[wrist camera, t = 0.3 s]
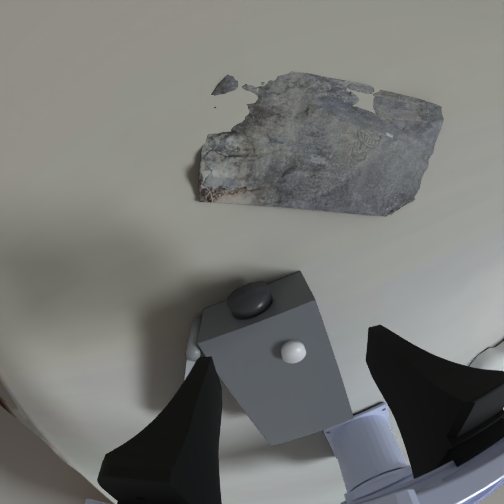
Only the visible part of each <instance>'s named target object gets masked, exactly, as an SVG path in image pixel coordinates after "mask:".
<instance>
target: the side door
mask: <svg viewBox="0 0 504 504" xmlns="http://www.w3.org/2000/svg"><path fill="white" fill-rule="evenodd" d="M201 320H202V318H195V319H193V321H192V325H191V330H190V335H189V339H188V344H187V348H186V353H185V354H186V357H187V363H186V371H185V379H186V377H187V376H188V374H189V372H190V371H191V369H192V367H193V366H194V364H195V362H196V360H197V359H198V358H199V357H200V353H201V348H200V347H199V345H198V344H197V343H198V337H199V331H200V326H201ZM185 379H184V381H185Z"/></svg>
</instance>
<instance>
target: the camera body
mask: <svg viewBox="0 0 504 504" xmlns="http://www.w3.org/2000/svg"><path fill="white" fill-rule="evenodd" d="M197 344H198V345H199V347H200V348H201V350H202V351H203V353H204V354H205V356H206V357H209V356H212V359H213V362H214V365H215V369H216V372H217V374H218V375H219V377H220V378H221V380H222V381H223V382H224V384H225V385H226V387H227V388H228V390H229V391H230V392H231V394H232V395H233V397H234V398H235V399H236V401H237V402H238V403H239V405H240V406H241V408H242V409H243V410H244V412H245V413H246V414H247V416H248V417H249V418H250V420H251V421H252V422H253V423H254V425H255V426H256V427H257V429H258V430H259V431H260V433H261V434H262V435H263V436H264V438H265V439H266V440H267V441H268V443H269V444H270V445H271V446H274V445H278V444H282V443H285V442H288V441H292V440H295V439H298V438H302V437H305V436H308V435H311V434H314V433H317V432H320V431H322V430H325V429H328V428H331V427H333V426H336V425H339V424H341V423H344V422H346V421H349V420H351V419H354V417H353V414H352V411H351V407H350V404H349V401H348V397H347V394H346V391H345V388H344V384H343V381H342V378H341V375H340V372H339V369H338V366H337V363H336V359H335V356H334V353H333V350H332V347H331V344H330V341H329V338H328V335H327V332H326V329H325V326H324V324H323V321H322V318H321V315H320V312H319V309H318V306H317V303H316V300H315V298H314V296H313V294H312V292H311V290H310V289H309V287H308V285H307V283H306V281H305V279H304V277H303V275H302V273H301V271H299V272H297V273H294V274H292V275H289V276H287V277H284V278H282V279H279V280H277V281H274V282H272V283H269V284H266V283H264V282H253V283H249V284H246V285H244V286H242V287H240V288H238V289H237V290H235V291H234V292H233V293H232V294H231V295H230V296H229V297H228V299H227V300H226V301H223V302H221V303H218V304H215V305H213V306H210V307H208V308H205V309H203V314H202V320H201V326H200V331H199V337H198V343H197Z"/></svg>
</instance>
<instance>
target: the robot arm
mask: <svg viewBox="0 0 504 504" xmlns="http://www.w3.org/2000/svg"><path fill="white" fill-rule="evenodd" d="M366 362H367V365H368V368H369V370H370V373H371V375H372V377H373V379H374V381H375V383H376V385H377V386H378V388H379V390H380V392H381V393H382V395H383V397H384V399H385V401H386V402H387V403H381V404H379V405H377V406H375V407H373V408H371V409H368V410H366V411H364V412H361V413H359V414H357V415H354V416H353V417H354V419H351V420H349V421H346V422H344V423H341V424H339V425H336V426H333V427H331V428H328V429H325V430H323V432H324V434H325V436H326V438H327V440H328V442H329V444H330V446H331V448H332V450H333V452H334V454H335V456H336V458H337V459H338V463H339V466H340V469H341V473H342V476H343V480H344V483H345V486H346V490H347V493H346V494H344V496H345V499H346V501H343V502H342V503H341V504H478V503H479V502H481V501H482V500H484V499H485V498H486V497H487V496H489V495H490V494H492V493H493V492H494V491H496V490H497V489H498V488H500V487H501V486H502V485H504V410H503V407H504V371H500V370H486V369H480V368H474V367H469V366H465V365H461V364H457V363H454V362H451V361H448V360H445V359H443V358H440V357H438V356H435V355H433V354H431V353H429V352H427V351H425V350H423V349H421V348H419V347H417V346H415V345H413V344H412V343H410V342H408V341H406V340H405V339H403V338H401V337H400V336H398V335H397V334H395V333H393V332H392V331H390V330H389V329H387V328H385V327H384V326H382V325H377V326H373V327H369V329H368V342H367V353H366ZM387 404H388V405H387ZM388 406H389V408H390V409H391V411H392V413H393V415H394V417H395V420H396V422H397V425H398V427H399V430H400V433H401V436H402V438H403V441H404V444H405V447H406V451H407V454H408V458H409V461H410V465H411V467H410V465H407V462H406V460H405V458H404V456H403V454H402V452H401V450H400V448H399V445H398V443H397V441H396V439H395V437H394V435H393V433H392V431H391V429H390V423H389V414H388ZM221 414H222V389H221V385H220V381H219V378H218V375H217V372H216V369H215V365H214V362H213V359H212V356H209V357H200V358H198V359H197V360H196V362H195V364H194V366H193V367H192V369H191V371H190V372H189V374H188V376H187V377H186V379H185V381H184V382H183V384H182V385H181V387H180V388H179V390H178V391H177V393H176V394H175V395H174V397H173V398H172V399H171V401H170V402H169V403H168V405H167V406H166V407H165V408H164V409H163V411H162V412H161V413H160V414H159V415H158V416H157V417H156V418H155V419H154V420H153V421H152V422H151V423H150V424H149V425H148V426H147V427H146V428H144V429H143V430H142V431H141V432H140V433H138V434H137V435H136V436H135V437H133V438H132V439H130V440H129V441H127V442H126V443H124V444H123V445H121V446H120V447H118V448H116V449H114V450H113V451H111V452H109V453H107V454H106V455H105V457H104V460H103V462H102V465H101V469H100V472H99V476H98V479H97V481H98V483H99V485H100V486H101V487H102V488H103V489H104V490H105V491H106V492H108V493H109V494H110V495H111V496H112V497H114V498H115V499H116V500H117V501H118V502H117V504H222V503H221V492H220V478H219V457H218V450H219V436H220V425H221ZM85 504H108V503H104V502H100V501H95V500H91V499H86V502H85Z"/></svg>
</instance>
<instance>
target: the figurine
mask: <svg viewBox="0 0 504 504" xmlns="http://www.w3.org/2000/svg"><path fill="white" fill-rule="evenodd" d="M469 367H474V368H480V369H486V370H500V371H504V341H503V342H502V343H500V344H499V345H498V346H496V347H493V348H488V349H487V350H485V351H484V352H482V353H481V354H479V355H478V356H477V357H476V358H475V359H474V361H473V362H472V363H471V365H470V366H469Z"/></svg>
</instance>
